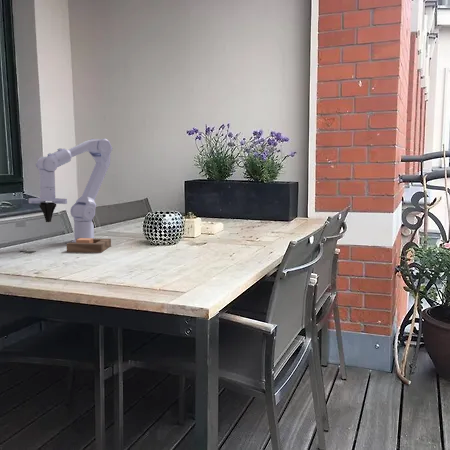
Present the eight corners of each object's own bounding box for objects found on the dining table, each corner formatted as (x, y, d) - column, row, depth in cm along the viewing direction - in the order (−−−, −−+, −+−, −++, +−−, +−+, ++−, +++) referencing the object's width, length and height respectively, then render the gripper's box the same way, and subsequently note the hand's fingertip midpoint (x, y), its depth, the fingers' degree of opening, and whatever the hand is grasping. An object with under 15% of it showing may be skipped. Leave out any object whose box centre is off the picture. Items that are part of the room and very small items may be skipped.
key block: (80, 248, 200) (80, 237, 199) (93, 248, 199) (93, 238, 199) (76, 250, 195) (76, 239, 194) (89, 250, 194) (89, 240, 194)
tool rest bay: (78, 245, 204) (78, 238, 204) (111, 246, 204) (110, 238, 203) (66, 251, 190) (66, 243, 190) (101, 252, 190) (101, 244, 190)
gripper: (24, 187, 197) (26, 222, 199) (62, 188, 196) (63, 223, 198) (32, 186, 204) (33, 220, 206) (68, 187, 203) (69, 221, 205)
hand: (48, 221), depth 202 cm, fingers closed
